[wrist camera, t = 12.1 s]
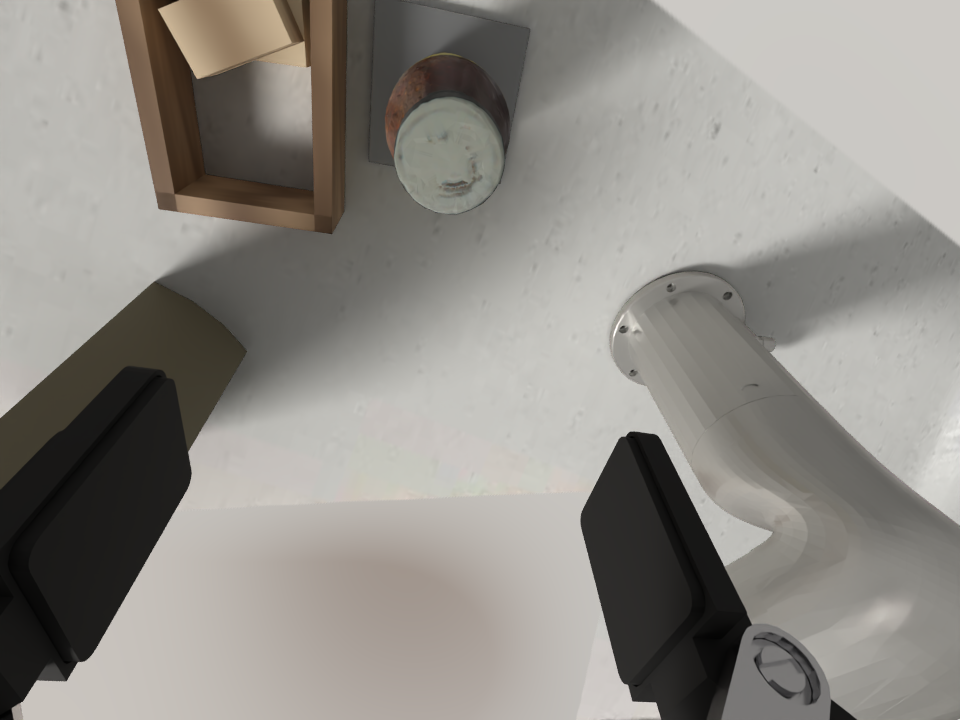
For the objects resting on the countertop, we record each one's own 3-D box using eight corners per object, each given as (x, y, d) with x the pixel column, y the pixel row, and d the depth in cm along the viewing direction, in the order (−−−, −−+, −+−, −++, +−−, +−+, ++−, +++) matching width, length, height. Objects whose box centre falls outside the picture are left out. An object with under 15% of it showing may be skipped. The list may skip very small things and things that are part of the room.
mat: (529, 28, 32) (530, 28, 31) (499, 181, 37) (500, 183, 37) (376, -5, 30) (375, -5, 30) (369, 159, 36) (368, 161, 35)
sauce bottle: (471, 164, 36) (491, 280, 20) (390, 131, 34) (340, 228, 18) (506, 70, 33) (565, 116, 16) (418, 28, 31) (387, 33, 15)
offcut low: (312, -10, 30) (300, -13, 28) (316, 63, 33) (306, 67, 30) (195, -29, 29) (172, -33, 27) (208, 48, 32) (188, 50, 29)
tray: (347, -36, 29) (332, -44, 25) (344, 211, 38) (332, 233, 34) (146, -81, 28) (94, -98, 24) (191, 187, 36) (158, 209, 32)
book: (162, 273, 41) (-189, 584, 18) (254, 343, 45) (69, 663, 22) (33, 402, 47) (-350, 755, 24) (125, 452, 52) (-124, 789, 29)
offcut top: (275, -27, 27) (258, -32, 25) (304, 41, 29) (291, 43, 27) (182, 10, 28) (157, 9, 26) (217, 74, 30) (197, 79, 28)
